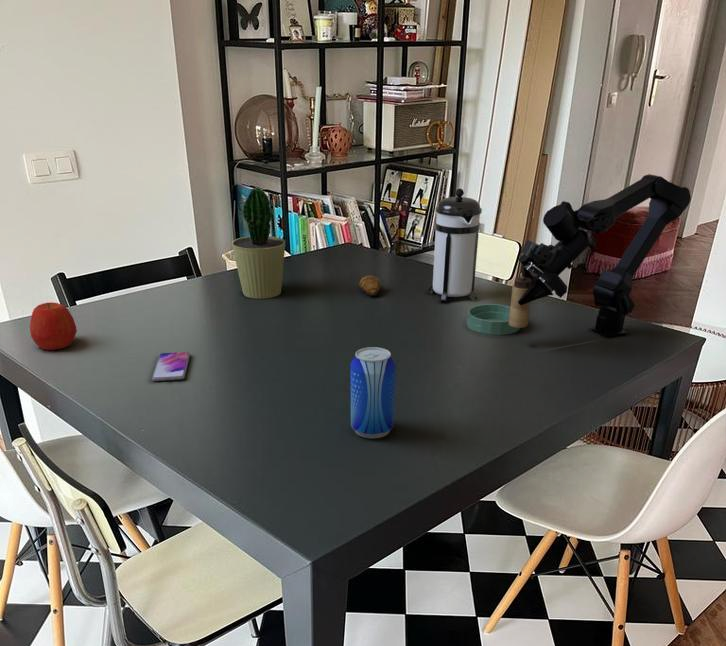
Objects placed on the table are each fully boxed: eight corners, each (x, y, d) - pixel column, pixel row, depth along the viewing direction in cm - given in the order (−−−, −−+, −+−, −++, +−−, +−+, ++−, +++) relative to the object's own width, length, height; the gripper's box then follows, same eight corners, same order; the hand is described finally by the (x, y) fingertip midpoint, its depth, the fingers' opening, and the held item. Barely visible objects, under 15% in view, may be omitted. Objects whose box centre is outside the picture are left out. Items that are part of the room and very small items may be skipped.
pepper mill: (516, 320, 182) (521, 272, 176) (531, 324, 180) (537, 276, 173) (504, 324, 180) (509, 276, 173) (519, 329, 177) (525, 280, 171)
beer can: (349, 421, 147) (348, 345, 139) (390, 419, 148) (392, 344, 139) (352, 441, 140) (352, 363, 132) (396, 439, 141) (398, 361, 132)
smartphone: (151, 378, 162) (159, 353, 175) (151, 382, 163) (160, 356, 175) (184, 376, 163) (190, 351, 176) (184, 380, 163) (190, 354, 176)
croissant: (385, 297, 215) (385, 280, 212) (362, 299, 214) (362, 282, 211) (376, 284, 226) (377, 268, 223) (355, 285, 225) (355, 269, 222)
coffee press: (487, 293, 219) (497, 186, 203) (464, 307, 207) (473, 195, 191) (436, 283, 227) (442, 180, 211) (410, 297, 215) (415, 189, 199)
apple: (88, 344, 182) (79, 302, 176) (46, 356, 175) (36, 313, 169) (66, 334, 188) (57, 293, 182) (25, 345, 181) (15, 303, 176)
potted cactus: (243, 283, 226) (235, 180, 210) (292, 286, 224) (288, 181, 208) (229, 299, 213) (219, 190, 197) (281, 302, 211) (275, 191, 195)
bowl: (500, 315, 202) (501, 301, 200) (531, 332, 191) (533, 317, 189) (456, 322, 197) (457, 308, 195) (485, 340, 186) (487, 324, 184)
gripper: (530, 219, 176) (482, 267, 180) (561, 237, 160) (508, 290, 165) (557, 250, 181) (509, 297, 186) (589, 271, 166) (537, 321, 170)
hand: (515, 300), depth 176 cm, fingers closed on pepper mill, 4 cm apart
